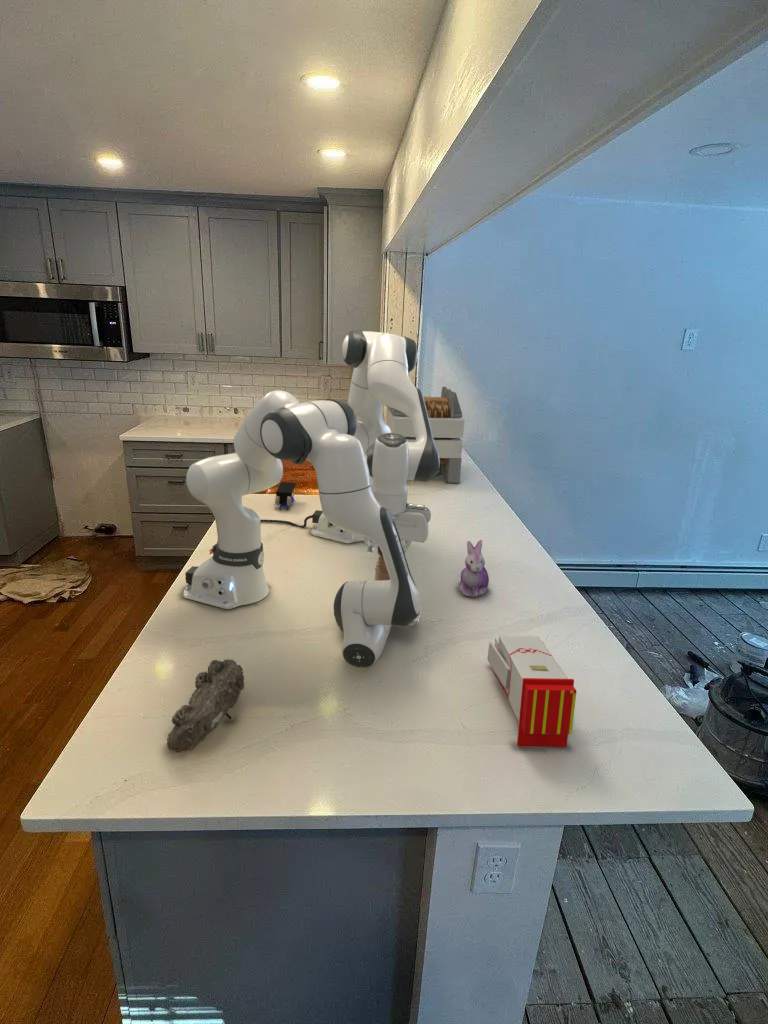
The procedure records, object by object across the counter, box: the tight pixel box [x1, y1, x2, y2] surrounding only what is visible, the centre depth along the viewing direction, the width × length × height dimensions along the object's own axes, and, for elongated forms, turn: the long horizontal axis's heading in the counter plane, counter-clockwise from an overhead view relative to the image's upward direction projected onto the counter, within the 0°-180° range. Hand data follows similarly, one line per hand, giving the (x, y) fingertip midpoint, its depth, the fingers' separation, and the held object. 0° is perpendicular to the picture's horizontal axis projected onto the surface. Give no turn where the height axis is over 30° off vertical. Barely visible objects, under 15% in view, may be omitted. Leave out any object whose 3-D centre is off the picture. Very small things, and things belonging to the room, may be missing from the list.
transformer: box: [385, 386, 465, 484], centre depth 268 cm, size 34×33×41 cm
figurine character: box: [274, 481, 297, 510], centre depth 222 cm, size 7×8×15 cm
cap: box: [377, 545, 383, 556], centre depth 142 cm, size 4×4×2 cm
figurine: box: [459, 539, 490, 598], centre depth 159 cm, size 9×10×15 cm
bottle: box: [374, 555, 390, 581], centre depth 145 cm, size 5×5×19 cm
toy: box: [486, 635, 577, 748], centre depth 115 cm, size 12×13×30 cm
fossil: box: [166, 658, 245, 754], centre depth 106 cm, size 22×10×15 cm
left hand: (384, 592), depth 147 cm, fingers closed on bottle, 5 cm apart
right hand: (386, 553), depth 142 cm, fingers open, 7 cm apart
